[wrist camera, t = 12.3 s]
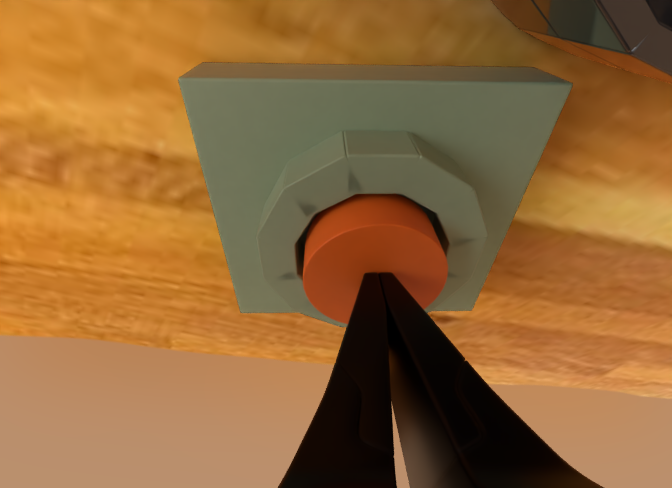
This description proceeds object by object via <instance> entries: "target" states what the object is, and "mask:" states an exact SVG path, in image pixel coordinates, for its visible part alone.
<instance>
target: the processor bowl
mask: <svg viewBox="0 0 672 488" xmlns="http://www.w3.org/2000/svg"><path fill="white" fill-rule="evenodd" d="M491 1H492V3H493V4H494V5H495V6H496V7H497V8H498V9H499V10H500V11H501V13H502V14H503V15H504V16H505V17H506V18H508V19H509V20H510V21H512V22H513V24H514V25H515V26H516V27H518V29H520V30H522V31H524V32H526V33H527V34H529V35H531V36H533V37H535V38H537V39H539V40H541V41H543V42H545V43H547V44H549V45H553V46H556V47H558V48H560V49H562V50H564V51H566V52H568V53H570V54H572V55H575V56H578V57H582V58H585V59H588V60H592V61H595V62H599V63H602V64H605V65H609V66H612V67H616V68H619V69H622V70H627V71H630V72H633V73H636V74H640V75H643V76H647V77H650V78H653V79H657V80H660V81H664V82H667V83H670V84H672V0H491Z"/></svg>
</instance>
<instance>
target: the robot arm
mask: <svg viewBox="0 0 672 488" xmlns="http://www.w3.org/2000/svg"><path fill="white" fill-rule="evenodd" d="M391 401H392V405H393V410H394V414H395V419H396V424H397V428H398V433H399V438H400V442H401V447H402V452H403V457H404V461H405V465H406V471H407V476H408V480H409V485H410V488H603V487H602V486H600V485H598V484H597V483H595V482H593V481H591V480H590V479H588V478H587V477H585V476H584V475H582V474H581V473H579V472H578V471H577V470H575V469H574V468H573V467H571V466H570V465H569V464H568V463H567V462H566V461H564V460H563V459H562V458H561V457H560V456H559V455H558V454H557V453H556V452H554V451H553V450H552V449H551V448H550V447H549V446H548V445H547V444H546V443H545V442H544V441H543V440H542V439H541V438H540V437H539V436H538V435H537V434H536V433H535V432H534V431H533V430H532V429H531V428H530V427H529V426H528V425H527V424H526V423H525V422H524V421H523V420H522V419H521V418H520V417H519V416H518V415H517V414H516V413H515V412H514V411H513V410H512V409H511V408H510V407H509V406H508V405H507V404H506V403H505V402H504V401H503V400H502V399H501V398H500V397H499V396H498V395H497V394H496V393H495V392H494V391H493V390H492V389H491V388H490V387H489V385H488V384H487V383H486V382H485V381H484V380H483V379H482V378H481V376H480V375H479V374H478V373H477V372H476V371H475V370H474V368H473V367H472V366H471V365H470V364H469V362H468V361H465V358H464V357H463V356H462V354H461V353H460V352H459V351H458V350H457V348H456V347H455V346H454V345H453V344H452V343H451V341H450V340H449V339H448V338H447V337H446V335H445V334H444V333H443V332H442V331H441V330H440V328H439V327H438V326H437V325H436V324H435V322H434V321H433V320H432V319H431V318H430V317H429V315H428V314H427V313H426V312H425V311H424V309H423V308H422V307H421V306H420V305H419V304H418V302H417V301H416V300H415V299H414V298H413V297H412V295H411V294H410V293H409V292H408V291H407V289H406V288H405V287H404V286H403V285H402V284H401V282H400V281H399V280H398V279H397V278H396V276H395V275H394V274H393V273H391V272H380V273H379V274H378V273H376V272H366V273H364V276H363V279H362V282H361V285H360V288H359V291H358V294H357V297H356V300H355V303H354V306H353V310H352V313H351V316H350V319H349V322H348V325H347V328H346V331H345V334H344V337H343V341H342V344H341V347H340V350H339V353H338V356H337V359H336V363H335V365H334V368H333V371H332V374H331V377H330V380H329V382H328V385H327V388H326V391H325V393H324V396H323V398H322V400H321V403H320V405H319V407H318V409H317V411H316V413H315V416H314V418H313V420H312V422H311V424H310V426H309V428H308V430H307V432H306V434H305V436H304V438H303V440H302V443H301V444H300V446H299V449H298V451H297V453H296V455H295V457H294V459H293V461H292V463H291V465H290V467H289V469H288V471H287V472H286V474H285V476H284V478H283V479H282V481H281V483H280V485H279V486H278V488H397V486H396V476H395V464H394V457H393V456H394V444H393V424H392V408H391V407H392V406H391Z"/></svg>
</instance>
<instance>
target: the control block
mask: <svg viewBox="0 0 672 488" xmlns="http://www.w3.org/2000/svg"><path fill="white" fill-rule="evenodd" d="M178 81H179V85H180V89H181V93H182V96H183V100H184V104H185V107H186V111H187V115H188V119H189V122H190V126H191V130H192V134H193V137H194V141H195V145H196V148H197V152H198V156H199V160H200V163H201V167H202V171H203V174H204V178H205V182H206V186H207V189H208V193H209V197H210V201H211V204H212V208H213V212H214V215H215V219H216V223H217V227H218V230H219V234H220V238H221V242H222V245H223V249H224V253H225V256H226V260H227V264H228V268H229V271H230V275H231V279H232V283H233V286H234V290H235V294H236V297H237V301H238V305H239V309H240V312H241V313H301V314H304V315H307V316H310V317H313V318H316V319H319V320H322V321H325V322H328V323H330V324H333V325H336V326H339V327H347V325H348V324H345V323H341V322H338V321H335V320H333V319H331V318H329V317H327V316H325V315H324V314H322V313H321V312H319V311H318V310H317V309H316V308H315V307H314V306H313V305H312V304H311V302H310V301H309V299H308V298H307V296H306V294H305V291H304V287H303V268H304V254H305V241H306V236H307V232H308V230H309V227H310V226H311V224H312V222H313V221H314V219H315V218H316V217H317V215H318V214H319V213H320V212H321V211H322V210H324V209H327V208H329V207H331V206H333V205H335V204H337V203H339V202H341V201H343V200H345V199H347V198H349V197H351V196H353V195H355V194H397V195H400V196H403V197H405V198H407V199H409V200H411V201H413V202H414V203H416V204H417V205H418V206H419V207H420V208H421V209H422V210H423V211H424V212H425V213H426V214H427V216H428V218H429V220H430V222H431V224H432V226H433V228H434V231H435V233H436V235H437V237H438V240H439V242H440V244H441V246H442V249H443V251H444V253H445V256H446V259H447V263H448V276H447V280H446V283H445V285H444V288H443V290H442V291H441V293H440V294H439V296H438V297H437V298H436V299H435V300H434V301H433V302H432V303H431V304H430V305H429V306H428V307H426V308H425V309H424V311H425V312H426V313H428V312H431V311H471V310H472V309H473V307H474V305H475V302H476V300H477V298H478V296H479V293H480V291H481V289H482V287H483V285H484V282H485V280H486V278H487V276H488V273H489V271H490V269H491V267H492V264H493V262H494V260H495V258H496V256H497V253H498V251H499V249H500V247H501V244H502V242H503V240H504V238H505V235H506V233H507V231H508V229H509V227H510V224H511V222H512V220H513V218H514V215H515V213H516V211H517V209H518V207H519V204H520V202H521V200H522V198H523V195H524V193H525V191H526V189H527V186H528V184H529V182H530V180H531V178H532V175H533V173H534V171H535V169H536V166H537V164H538V162H539V160H540V157H541V155H542V153H543V151H544V149H545V146H546V144H547V142H548V140H549V137H550V135H551V133H552V131H553V129H554V126H555V124H556V122H557V120H558V117H559V115H560V113H561V111H562V108H563V106H564V104H565V102H566V100H567V97H568V95H569V93H570V91H571V88H572V85H573V84H572V83H571V82H569V81H566V80H564V79H561V78H559V77H556V76H554V75H552V74H549V73H547V72H544V71H542V70H539V69H537V68H534V67H477V66H410V65H344V64H278V63H212V62H202V63H201V64H199V65H197V66H196V67H194V68H193V69H191V70H190V71H188V72H187V73H185V74H184V75H182V76H181V77H179V79H178Z"/></svg>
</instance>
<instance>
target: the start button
mask: <svg viewBox="0 0 672 488" xmlns="http://www.w3.org/2000/svg"><path fill="white" fill-rule="evenodd" d="M366 272H376V273H378V274H379V273H380V272H391V273H393V274H394V275H395V276H396V278H397V279H398V280H399V281H400V282H401V284H402V285H403V286H404V287H405V288H406V289H407V291H408V292H409V293H410V294H411V295H412V297H413V298H414V299H415V300H416V301H417V302H418V304H419V305H420V306H421V307H422V308H423V309H425V308H426V307H428V306H429V305H430V304H431V303H432V302H433V301H434V300H435V299H436V298H437V297H438V296H439V294H440V293H441V291H442V290H443V288H444V285H445V283H446V280H447V276H448V263H447V259H446V256H445V253H444V251H443V249H442V246H441V244H440V242H439V240H438V237H437V235H436V233H435V231H434V228H433V226H432V224H431V222H430V220H429V218H428V216H427V214H426V213H425V212H424V211H423V210H422V209H421V208H420V207H419V206H418V205H417V204H416V203H414V202H413V201H411V200H409V199H407V198H405V197H403V196H400V195H397V194H355V195H353V196H351V197H349V198H347V199H345V200H343V201H341V202H339V203H337V204H335V205H333V206H331V207H329V208H327V209H324V210H322V211H321V212H320V213H319V214H318V215H317V217H316V218H315V219H314V221H313V222H312V224H311V226H310V227H309V230H308V232H307V236H306V241H305V254H304V268H303V287H304V291H305V294H306V296H307V298H308V299H309V301H310V302H311V304H312V305H313V306H314V307H315V308H316V309H317V310H318V311H319V312H321V313H322V314H324V315H325V316H327V317H329V318H331V319H333V320H335V321H338V322H341V323H345V324H348V322H349V319H350V316H351V313H352V310H353V306H354V303H355V300H356V297H357V294H358V291H359V288H360V285H361V282H362V279H363V276H364V273H366Z"/></svg>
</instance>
